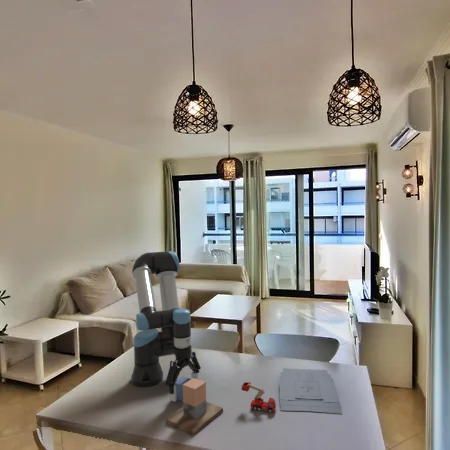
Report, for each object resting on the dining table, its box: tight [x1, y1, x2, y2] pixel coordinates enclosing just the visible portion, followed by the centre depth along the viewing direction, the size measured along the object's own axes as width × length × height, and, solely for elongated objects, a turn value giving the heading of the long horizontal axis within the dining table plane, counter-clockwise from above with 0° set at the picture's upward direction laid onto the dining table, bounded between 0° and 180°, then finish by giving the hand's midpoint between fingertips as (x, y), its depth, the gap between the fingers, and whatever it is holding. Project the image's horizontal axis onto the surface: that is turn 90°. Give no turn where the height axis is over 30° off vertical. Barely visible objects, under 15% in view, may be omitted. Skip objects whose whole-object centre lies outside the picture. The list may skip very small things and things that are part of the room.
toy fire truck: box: [241, 381, 277, 413], centre depth 142 cm, size 3×14×10 cm, turn 71°
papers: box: [279, 367, 343, 415], centre depth 153 cm, size 24×30×4 cm
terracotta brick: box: [182, 378, 207, 407], centre depth 137 cm, size 6×6×7 cm
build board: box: [165, 399, 224, 436], centre depth 138 cm, size 14×18×6 cm
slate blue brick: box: [175, 375, 192, 402], centre depth 153 cm, size 6×6×7 cm
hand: (184, 393), depth 153 cm, fingers open, 13 cm apart
